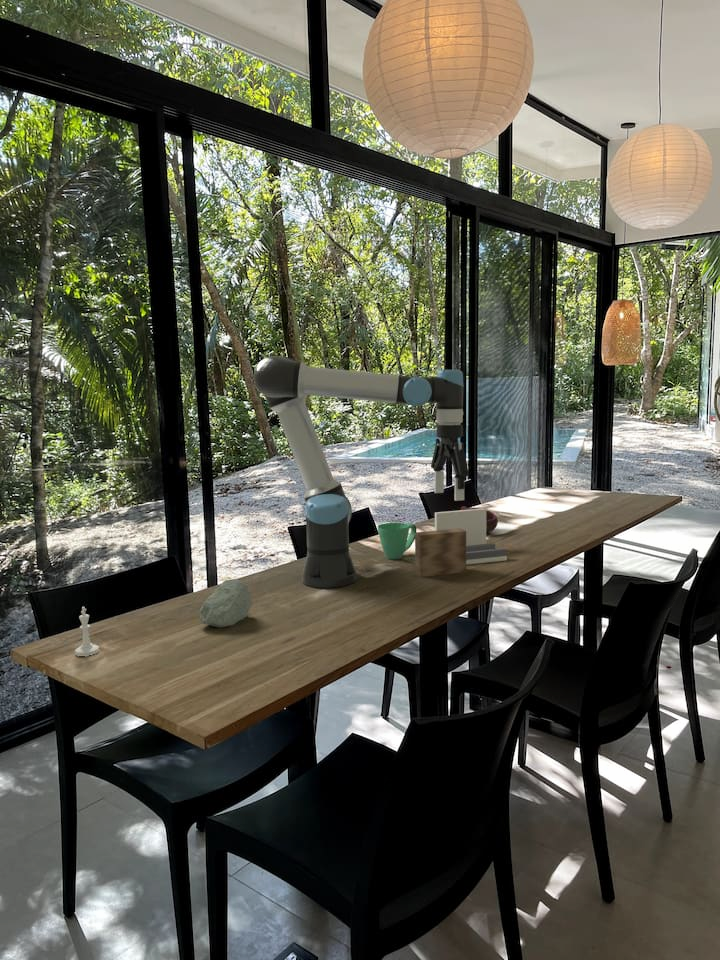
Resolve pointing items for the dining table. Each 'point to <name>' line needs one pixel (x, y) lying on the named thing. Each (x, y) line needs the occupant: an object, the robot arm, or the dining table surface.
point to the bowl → (487, 519)
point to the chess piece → (86, 638)
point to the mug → (396, 538)
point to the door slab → (440, 552)
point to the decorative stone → (226, 604)
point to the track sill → (471, 534)
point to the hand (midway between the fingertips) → (448, 496)
